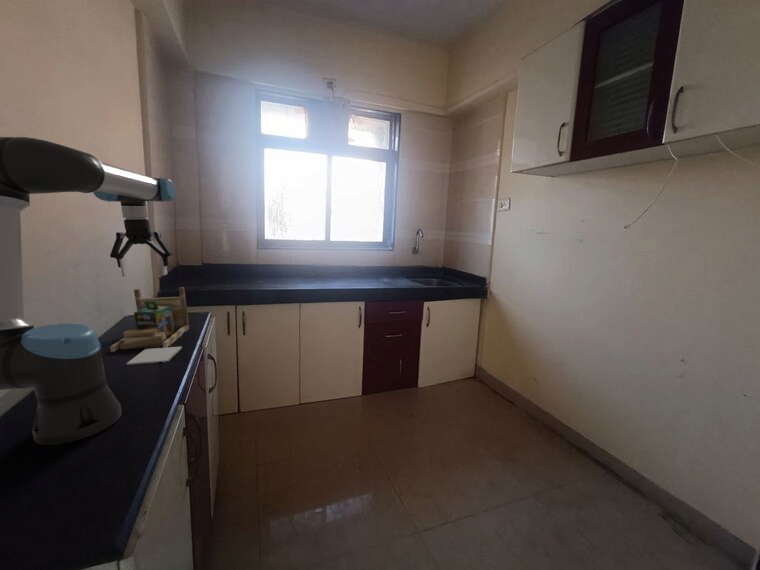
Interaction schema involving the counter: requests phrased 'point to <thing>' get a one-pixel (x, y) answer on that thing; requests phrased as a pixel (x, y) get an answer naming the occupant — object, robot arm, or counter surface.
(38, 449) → the counter surface
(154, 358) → the felt mat
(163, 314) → the chalk box
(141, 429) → the counter surface
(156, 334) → the offcut stack
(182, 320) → the rack
